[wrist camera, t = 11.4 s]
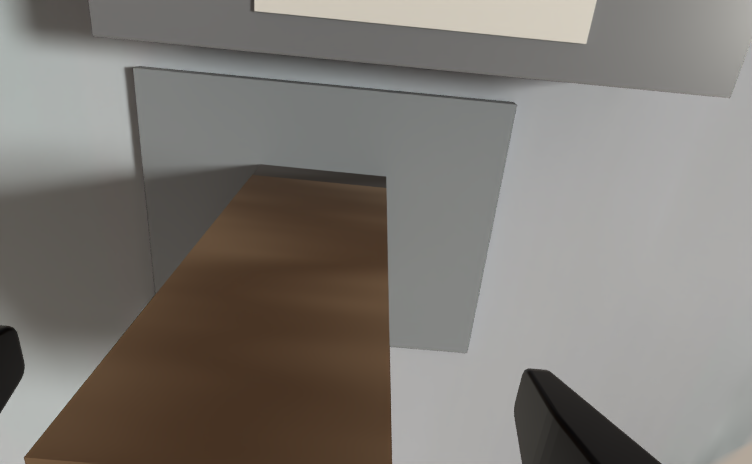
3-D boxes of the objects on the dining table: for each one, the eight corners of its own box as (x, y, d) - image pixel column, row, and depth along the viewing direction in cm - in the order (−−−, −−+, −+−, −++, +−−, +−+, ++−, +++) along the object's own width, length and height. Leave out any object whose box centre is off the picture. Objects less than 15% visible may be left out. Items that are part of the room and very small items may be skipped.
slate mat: (513, 102, 14) (517, 104, 13) (465, 345, 17) (467, 353, 16) (139, 66, 13) (132, 68, 13) (163, 320, 16) (158, 327, 16)
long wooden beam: (386, 176, 14) (392, 487, 5) (374, 285, 15) (361, 687, 6) (260, 164, 14) (24, 457, 5) (259, 274, 15) (75, 667, 6)
